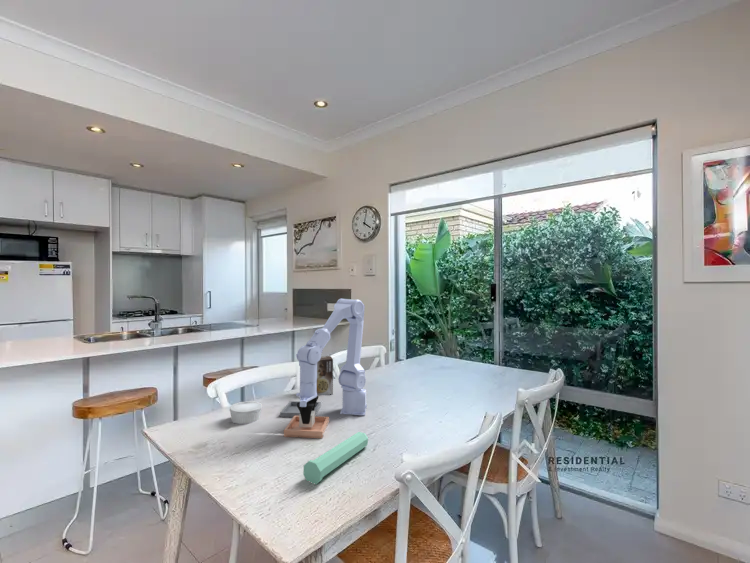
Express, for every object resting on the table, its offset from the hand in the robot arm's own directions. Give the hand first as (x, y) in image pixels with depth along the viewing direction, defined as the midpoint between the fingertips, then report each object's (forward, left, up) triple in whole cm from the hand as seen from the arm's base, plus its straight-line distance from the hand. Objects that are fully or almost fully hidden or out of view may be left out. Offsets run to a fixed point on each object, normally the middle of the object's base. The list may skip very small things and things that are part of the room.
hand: (307, 420), depth 124 cm
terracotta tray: (0, 0, -3) cm, 3 cm away
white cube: (0, 0, -1) cm, 1 cm away
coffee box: (+3, -39, -3) cm, 39 cm away
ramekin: (+24, -6, -3) cm, 25 cm away
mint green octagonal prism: (-14, +21, -3) cm, 25 cm away
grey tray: (+6, -15, -3) cm, 16 cm away
